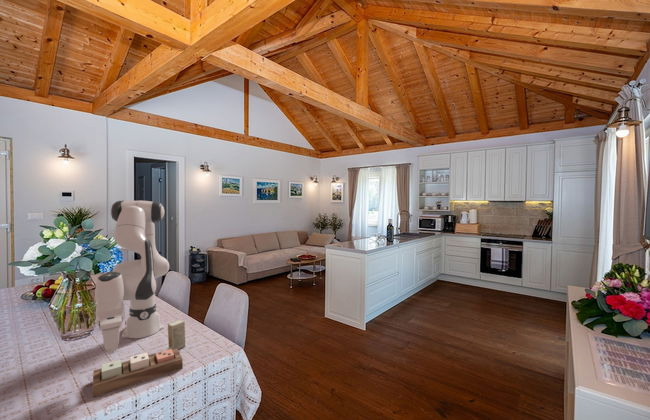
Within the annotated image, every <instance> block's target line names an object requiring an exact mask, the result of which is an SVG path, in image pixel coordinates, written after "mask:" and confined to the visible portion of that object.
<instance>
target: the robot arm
mask: <svg viewBox="0 0 650 420" xmlns="http://www.w3.org/2000/svg"><path fill="white" fill-rule="evenodd" d="M110 216H111V218H112V220H113V221H115V222H116V223H115V228H114V235H113V239H114V241H115V243H116V244H117V245H118V246H119V247H121V248H123V249H124V250H127V251H131V252H133V253H136V254H138V255H140V259H133V260H128V261H127V260H126V261H123V262H120V263H118V264H116V265H115V266H114V267H113V269H112V271H111V272H107V273H102V274H101V275H99V276H98V277H97V279H96V282H95V283H96V284H95V290H94V291H95V294H94V295H95V296H94V299H95V303H96V309H95V325H97V326H98V328H99V331H101V334H102V340H103V346H104V349H105V351H106V352H108V354H109V355H111V354H114V353H115V350H117V348H119V343H120V342H119V341H120V333H121V332H120V331H121V327H122V325H123V322H124V325H125V328H124V329H123V332H122V334H121V338H123V339H125V338H127V339H128V338H129V339H141V338H142V339H143V338H145V337H150V336H152V335H155V334H156V333H158V332H159V331H161V330H162V329H164V325H163V324H162V323H161V320H160V317H161V316H160V313H159V312H157V303H156V291H157V281H156V278H160V277H162V276H165V275H166V274H168V272H169V270H170V263H169V260H167V258H165V257H164V256H162V255H161V254H160V253H159V252H158V250H157V247H156V227H155V226H156V225H157V223H160V222H161V221H162V220H164V219H163V218H164V216H165V207H164V205H163V204H162V203H161V202H159V201H149V200H142V199H141V200H117V201H115V202H114V203H113V204H112V205H111V209H110ZM155 224H156V225H155ZM124 301H129V303H130V304H129V305H130V307H129V310H128V314H129V315H128V318H127V319H126V315H125V314H126V313H125V311H126V310H125V302H124ZM124 319H125V321H124Z"/></svg>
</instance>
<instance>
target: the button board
mask: <svg viewBox="0 0 650 420" xmlns="http://www.w3.org/2000/svg"><path fill="white" fill-rule="evenodd" d="M162 351H163V350H162ZM162 351H160V352H162ZM172 351H173V353H174V359H171V360H168V361H164V362H161V363H158V364H156V353H157V352H155V353H151V354H148V356H149V366H148V367H144V368H141V369H138V370H134V371H130V359H129V360H127V361H123V362H122V361H121V366H122V374H121V375H118V376H114V377H111V378H108V379H104V380H102V367H101V368H97V369H94V370H93V373H92V374H93V375H92V398H95V397H99V396H101V395H104V394H107V393H110V392H113V391H117V390H120V389H122V388H126V387H129V386H132V385H135V384H138V383H142V382H145V381H148V380H151V379H155V378H157V377H161V376H164V375H167V374H169V373H173V372H176V371H179V370H182V369H183V368H184V367H183V357H182V355H181V353H180V350H179V349H177V347H176V348H172Z"/></svg>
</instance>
